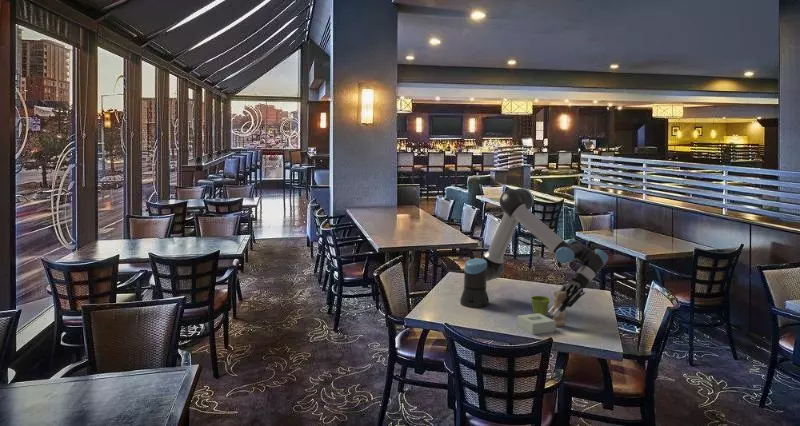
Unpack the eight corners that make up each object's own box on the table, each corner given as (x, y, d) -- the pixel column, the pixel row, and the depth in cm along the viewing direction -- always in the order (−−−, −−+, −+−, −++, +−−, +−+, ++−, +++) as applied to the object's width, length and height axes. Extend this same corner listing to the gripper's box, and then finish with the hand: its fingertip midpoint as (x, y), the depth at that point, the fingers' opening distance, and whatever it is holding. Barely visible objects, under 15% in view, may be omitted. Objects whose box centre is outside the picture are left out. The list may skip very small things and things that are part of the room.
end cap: (516, 326, 249) (517, 315, 248) (538, 323, 253) (538, 313, 253) (532, 334, 238) (532, 323, 237) (554, 331, 242) (555, 320, 242)
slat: (552, 325, 251) (554, 292, 249) (561, 324, 252) (563, 291, 250) (555, 326, 248) (557, 293, 246) (564, 325, 250) (566, 292, 248)
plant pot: (546, 319, 259) (547, 302, 258) (527, 316, 264) (528, 299, 263) (551, 314, 267) (552, 297, 266) (533, 311, 272) (534, 294, 271)
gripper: (599, 286, 246) (567, 324, 242) (576, 278, 261) (546, 314, 257) (590, 275, 244) (558, 314, 240) (568, 268, 258) (537, 305, 254)
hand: (552, 314), depth 248 cm, fingers closed on slat, 2 cm apart
